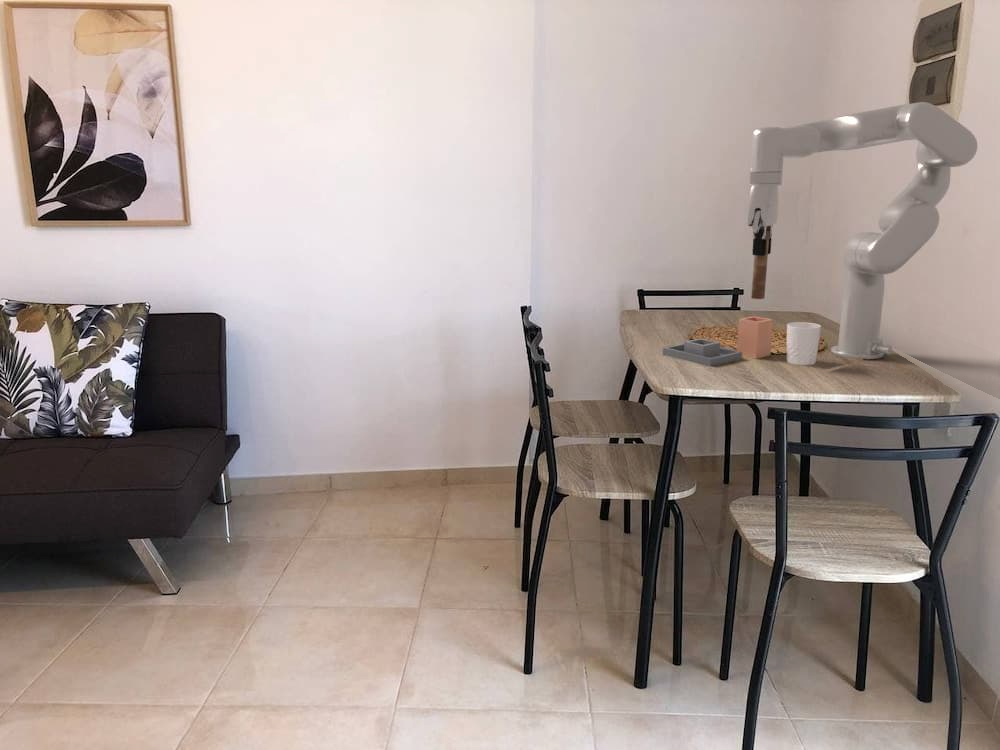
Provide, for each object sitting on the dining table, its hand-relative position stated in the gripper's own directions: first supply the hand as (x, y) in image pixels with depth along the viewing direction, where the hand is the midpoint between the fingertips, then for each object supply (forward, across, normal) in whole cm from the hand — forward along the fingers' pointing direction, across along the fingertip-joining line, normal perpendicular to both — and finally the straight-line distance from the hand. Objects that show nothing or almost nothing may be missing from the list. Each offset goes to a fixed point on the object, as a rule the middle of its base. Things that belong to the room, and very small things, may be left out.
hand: (761, 253), depth 198 cm
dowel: (+11, 0, 0) cm, 11 cm away
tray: (+27, +9, -11) cm, 30 cm away
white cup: (+27, +2, +12) cm, 30 cm away
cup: (+27, 0, 0) cm, 27 cm away
